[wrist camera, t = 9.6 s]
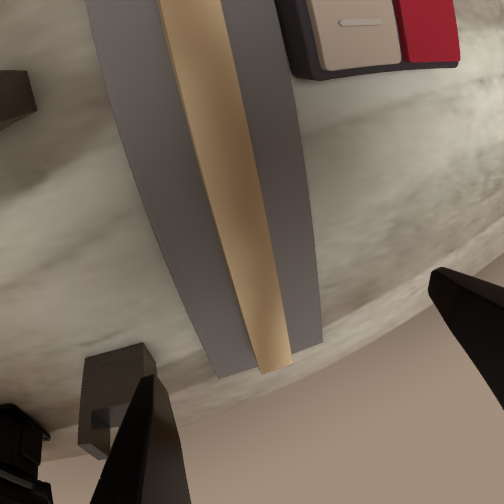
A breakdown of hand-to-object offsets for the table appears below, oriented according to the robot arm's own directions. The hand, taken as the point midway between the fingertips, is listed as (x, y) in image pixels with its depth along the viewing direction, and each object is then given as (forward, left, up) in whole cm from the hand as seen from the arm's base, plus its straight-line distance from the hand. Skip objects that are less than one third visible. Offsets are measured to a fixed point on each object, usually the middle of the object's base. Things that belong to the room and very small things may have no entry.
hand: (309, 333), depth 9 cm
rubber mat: (0, 0, -11) cm, 11 cm away
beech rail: (0, 0, -10) cm, 10 cm away
